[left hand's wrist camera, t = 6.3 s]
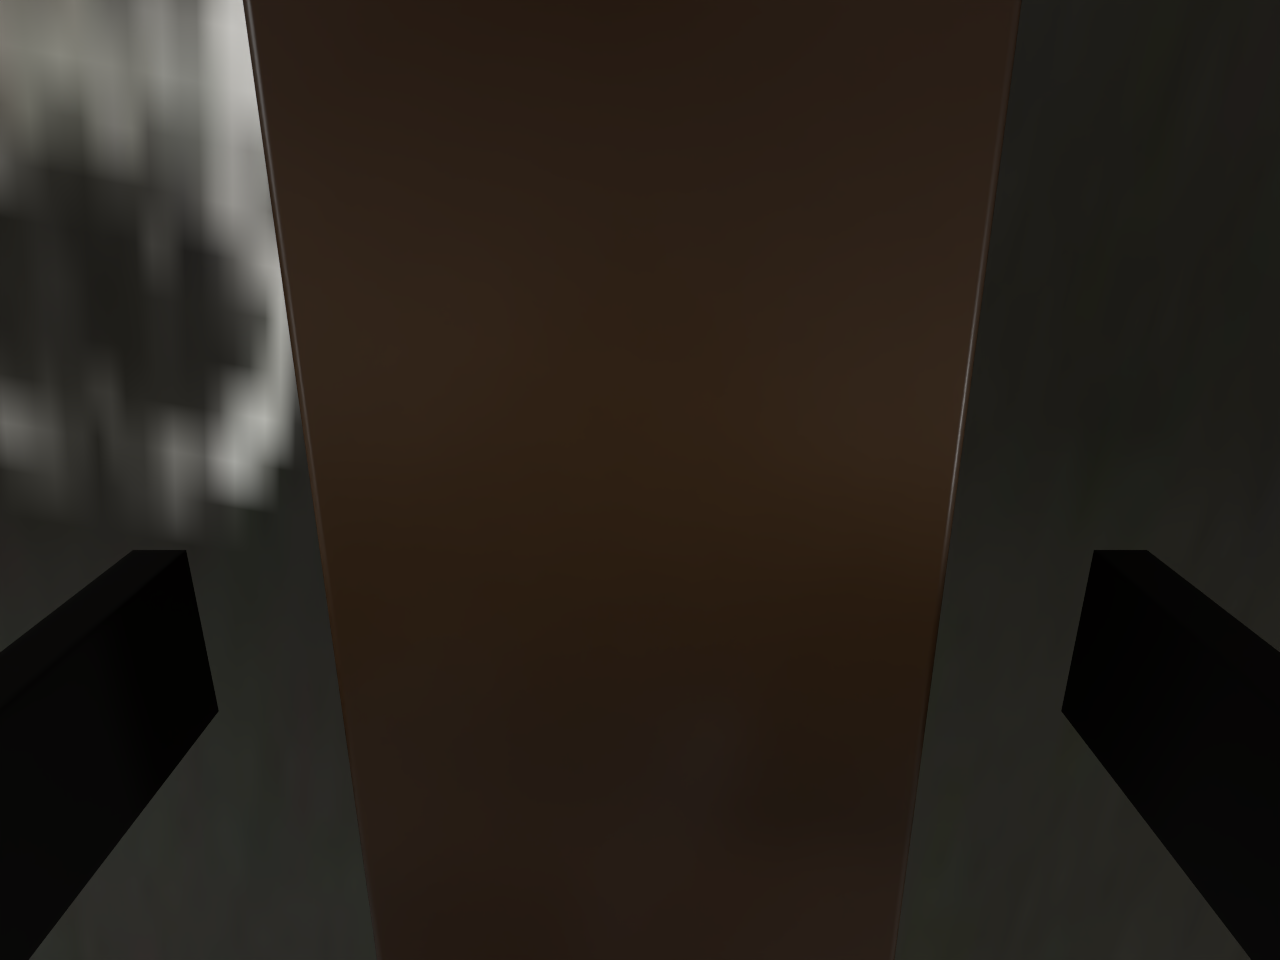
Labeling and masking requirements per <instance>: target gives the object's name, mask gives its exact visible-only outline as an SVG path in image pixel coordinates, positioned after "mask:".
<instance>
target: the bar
mask: <svg viewBox="0 0 1280 960" xmlns="http://www.w3.org/2000/svg"><path fill="white" fill-rule="evenodd" d="M1021 2H1022V0H243V5H244V12H245V19H246V26H247V33H248V40H249V48H250V55H251V62H252V69H253V76H254V83H255V90H256V98H257V105H258V112H259V119H260V126H261V133H262V141H263V148H264V155H265V162H266V169H267V176H268V183H269V191H270V198H271V205H272V212H273V219H274V226H275V233H276V241H277V248H278V255H279V262H280V269H281V276H282V283H283V291H284V298H285V305H286V312H287V319H288V326H289V333H290V341H291V348H292V355H293V362H294V369H295V376H296V384H297V391H298V398H299V405H300V412H301V419H302V426H303V434H304V441H305V448H306V455H307V462H308V469H309V476H310V484H311V491H312V498H313V505H314V512H315V519H316V526H317V534H318V541H319V548H320V555H321V562H322V569H323V576H324V584H325V591H326V598H327V605H328V612H329V619H330V627H331V634H332V641H333V648H334V655H335V662H336V669H337V677H338V684H339V691H340V698H341V705H342V712H343V719H344V727H345V734H346V741H347V748H348V755H349V762H350V769H351V777H352V784H353V791H354V798H355V805H356V812H357V820H358V827H359V834H360V841H361V848H362V855H363V862H364V870H365V877H366V884H367V891H368V898H369V905H370V912H371V920H372V927H373V934H374V941H375V948H376V955H377V960H894V958H895V951H896V943H897V935H898V928H899V920H900V913H901V905H902V898H903V890H904V883H905V875H906V868H907V860H908V853H909V845H910V838H911V830H912V823H913V815H914V807H915V800H916V792H917V785H918V777H919V770H920V762H921V755H922V747H923V740H924V732H925V725H926V717H927V710H928V702H929V695H930V687H931V679H932V672H933V664H934V657H935V649H936V642H937V634H938V627H939V619H940V612H941V604H942V597H943V589H944V582H945V574H946V567H947V559H948V551H949V544H950V536H951V529H952V521H953V514H954V506H955V499H956V491H957V484H958V476H959V469H960V461H961V454H962V446H963V438H964V431H965V423H966V416H967V408H968V401H969V393H970V386H971V378H972V371H973V363H974V356H975V348H976V341H977V333H978V326H979V318H980V310H981V303H982V295H983V288H984V280H985V273H986V265H987V258H988V250H989V243H990V235H991V228H992V220H993V213H994V205H995V198H996V190H997V182H998V175H999V167H1000V160H1001V152H1002V145H1003V137H1004V130H1005V122H1006V115H1007V107H1008V100H1009V92H1010V85H1011V77H1012V70H1013V62H1014V54H1015V47H1016V39H1017V32H1018V24H1019V17H1020V9H1021Z"/></svg>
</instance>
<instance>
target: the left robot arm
mask: <svg viewBox="0 0 1280 960" xmlns="http://www.w3.org/2000/svg"><path fill="white" fill-rule="evenodd" d="M217 713H218V706H217V701H216V696H215V691H214V686H213V681H212V676H211V671H210V666H209V661H208V656H207V651H206V646H205V641H204V637H203V632H202V627H201V622H200V617H199V612H198V607H197V602H196V597H195V592H194V587H193V582H192V577H191V572H190V567H189V562H188V558H187V553H186V550H133V551H131V552H130V553H129V554H127V555H126V556H125V557H124V558H122V559H121V560H120V561H118V562H117V563H116V564H114V565H113V566H112V567H111V568H109V569H108V570H107V571H105V572H104V573H103V574H101V575H100V576H99V577H98V578H96V579H95V580H94V581H92V582H91V583H90V584H88V585H87V586H86V587H85V588H83V589H82V590H81V591H79V592H78V593H77V594H75V595H74V596H73V597H72V598H70V599H69V600H68V601H66V602H65V603H64V604H62V605H61V606H60V607H59V608H57V609H56V610H55V611H53V612H52V613H51V614H50V615H48V616H47V617H46V618H44V619H43V620H42V621H40V622H39V623H38V624H37V625H35V626H34V627H33V628H31V629H30V630H29V631H27V632H26V633H25V634H24V635H22V636H21V637H20V638H18V639H17V640H16V641H14V642H13V643H12V644H11V645H9V646H8V647H7V648H5V649H4V650H3V651H1V652H0V960H29V958H30V957H31V956H32V955H33V953H34V952H35V951H36V949H37V948H38V947H39V945H40V944H41V943H42V941H43V940H44V939H45V938H46V936H47V935H48V934H49V932H50V931H51V930H52V928H53V927H54V926H55V924H56V923H57V922H58V921H59V919H60V918H61V917H62V915H63V914H64V913H65V911H66V910H67V909H68V907H69V906H70V905H71V904H72V902H73V901H74V900H75V898H76V897H77V896H78V894H79V893H80V892H81V890H82V889H83V888H84V887H85V885H86V884H87V883H88V881H89V880H90V879H91V877H92V876H93V875H94V873H95V872H96V871H97V870H98V868H99V867H100V866H101V864H102V863H103V862H104V860H105V859H106V858H107V856H108V855H109V854H110V853H111V851H112V850H113V849H114V847H115V846H116V845H117V843H118V842H119V841H120V839H121V838H122V837H123V835H124V834H125V833H126V832H127V830H128V829H129V828H130V826H131V825H132V824H133V822H134V821H135V820H136V818H137V817H138V816H139V815H140V813H141V812H142V811H143V809H144V808H145V807H146V805H147V804H148V803H149V801H150V800H151V799H152V798H153V796H154V795H155V794H156V792H157V791H158V790H159V788H160V787H161V786H162V784H163V783H164V782H165V781H166V779H167V778H168V777H169V775H170V774H171V773H172V771H173V770H174V769H175V767H176V766H177V765H178V764H179V762H180V761H181V760H182V758H183V757H184V756H185V754H186V753H187V752H188V750H189V749H190V748H191V747H192V745H193V744H194V743H195V741H196V740H197V739H198V737H199V736H200V735H201V733H202V732H203V731H204V730H205V728H206V727H207V726H208V724H209V723H210V722H211V720H212V719H213V718H214V716H215V715H216V714H217ZM1062 713H1063V714H1064V715H1065V716H1066V718H1067V719H1068V720H1069V722H1070V723H1071V724H1072V726H1073V727H1074V728H1075V730H1076V731H1077V732H1078V733H1079V735H1080V736H1081V737H1082V739H1083V740H1084V741H1085V743H1086V744H1087V745H1088V747H1089V748H1090V749H1091V750H1092V752H1093V753H1094V754H1095V756H1096V757H1097V758H1098V760H1099V761H1100V762H1101V764H1102V765H1103V766H1104V767H1105V769H1106V770H1107V771H1108V773H1109V774H1110V775H1111V777H1112V778H1113V779H1114V781H1115V782H1116V783H1117V784H1118V786H1119V787H1120V788H1121V790H1122V791H1123V792H1124V794H1125V795H1126V796H1127V798H1128V799H1129V800H1130V801H1131V803H1132V804H1133V805H1134V807H1135V808H1136V809H1137V811H1138V812H1139V813H1140V815H1141V816H1142V817H1143V818H1144V820H1145V821H1146V822H1147V824H1148V825H1149V826H1150V828H1151V829H1152V830H1153V832H1154V833H1155V834H1156V835H1157V837H1158V838H1159V839H1160V841H1161V842H1162V843H1163V845H1164V846H1165V847H1166V849H1167V850H1168V851H1169V853H1170V854H1171V855H1172V856H1173V858H1174V859H1175V860H1176V862H1177V863H1178V864H1179V866H1180V867H1181V868H1182V870H1183V871H1184V872H1185V873H1186V875H1187V876H1188V877H1189V879H1190V880H1191V881H1192V883H1193V884H1194V885H1195V887H1196V888H1197V889H1198V890H1199V892H1200V893H1201V894H1202V896H1203V897H1204V898H1205V900H1206V901H1207V902H1208V904H1209V905H1210V906H1211V907H1212V909H1213V910H1214V911H1215V913H1216V914H1217V915H1218V917H1219V918H1220V919H1221V921H1222V922H1223V923H1224V924H1225V926H1226V927H1227V928H1228V930H1229V931H1230V932H1231V934H1232V935H1233V936H1234V938H1235V939H1236V940H1237V941H1238V943H1239V944H1240V945H1241V947H1242V948H1243V949H1244V951H1245V952H1246V953H1247V955H1248V956H1249V957H1250V958H1251V960H1280V652H1279V651H1277V650H1276V649H1275V648H1273V647H1272V646H1271V645H1269V644H1268V643H1267V642H1266V641H1264V640H1263V639H1262V638H1260V637H1259V636H1258V635H1256V634H1255V633H1254V632H1253V631H1251V630H1250V629H1249V628H1247V627H1246V626H1245V625H1243V624H1242V623H1241V622H1240V621H1238V620H1237V619H1236V618H1234V617H1233V616H1232V615H1230V614H1229V613H1228V612H1227V611H1225V610H1224V609H1223V608H1221V607H1220V606H1219V605H1218V604H1216V603H1215V602H1214V601H1212V600H1211V599H1210V598H1208V597H1207V596H1206V595H1205V594H1203V593H1202V592H1201V591H1199V590H1198V589H1197V588H1195V587H1194V586H1193V585H1192V584H1190V583H1189V582H1188V581H1186V580H1185V579H1184V578H1182V577H1181V576H1180V575H1179V574H1177V573H1176V572H1175V571H1173V570H1172V569H1171V568H1169V567H1168V566H1167V565H1166V564H1164V563H1163V562H1162V561H1160V560H1159V559H1158V558H1156V557H1155V556H1154V555H1153V554H1151V553H1150V552H1149V551H1147V550H1094V553H1093V558H1092V562H1091V567H1090V572H1089V577H1088V582H1087V587H1086V592H1085V597H1084V602H1083V607H1082V612H1081V617H1080V622H1079V627H1078V632H1077V637H1076V641H1075V646H1074V651H1073V656H1072V661H1071V666H1070V671H1069V676H1068V681H1067V686H1066V691H1065V696H1064V701H1063V706H1062Z"/></svg>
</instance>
